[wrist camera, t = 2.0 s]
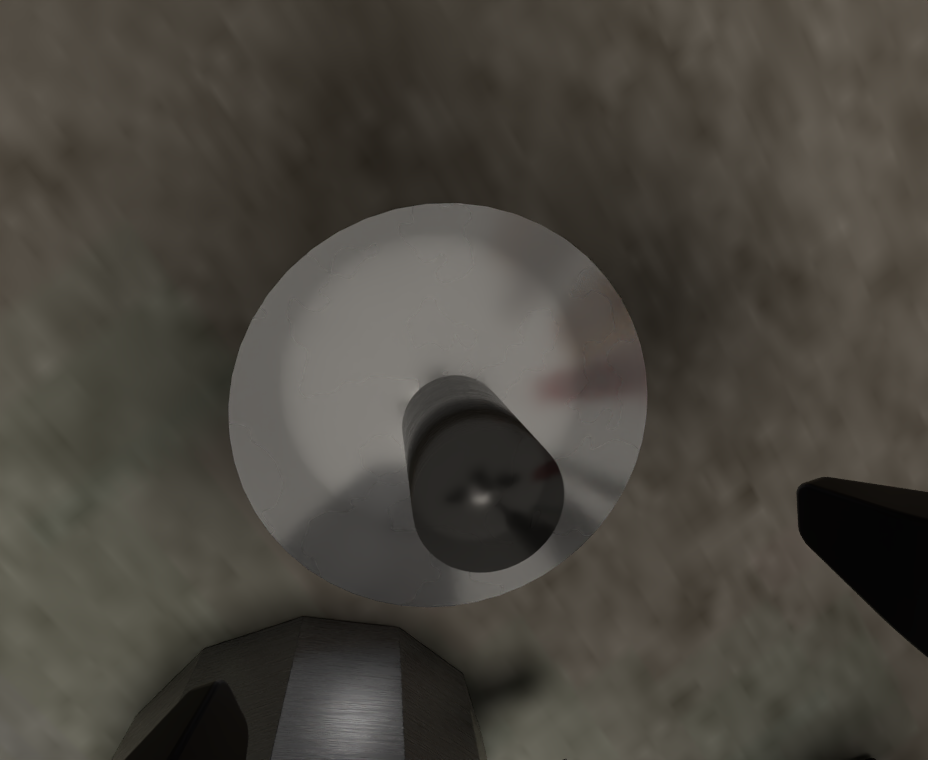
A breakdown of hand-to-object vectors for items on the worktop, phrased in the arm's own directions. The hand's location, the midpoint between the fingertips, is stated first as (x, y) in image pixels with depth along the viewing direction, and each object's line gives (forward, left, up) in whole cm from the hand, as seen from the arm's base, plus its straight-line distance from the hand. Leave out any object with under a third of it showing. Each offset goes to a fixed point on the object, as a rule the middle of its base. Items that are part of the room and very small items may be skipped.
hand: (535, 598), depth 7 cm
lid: (0, 0, -8) cm, 8 cm away
